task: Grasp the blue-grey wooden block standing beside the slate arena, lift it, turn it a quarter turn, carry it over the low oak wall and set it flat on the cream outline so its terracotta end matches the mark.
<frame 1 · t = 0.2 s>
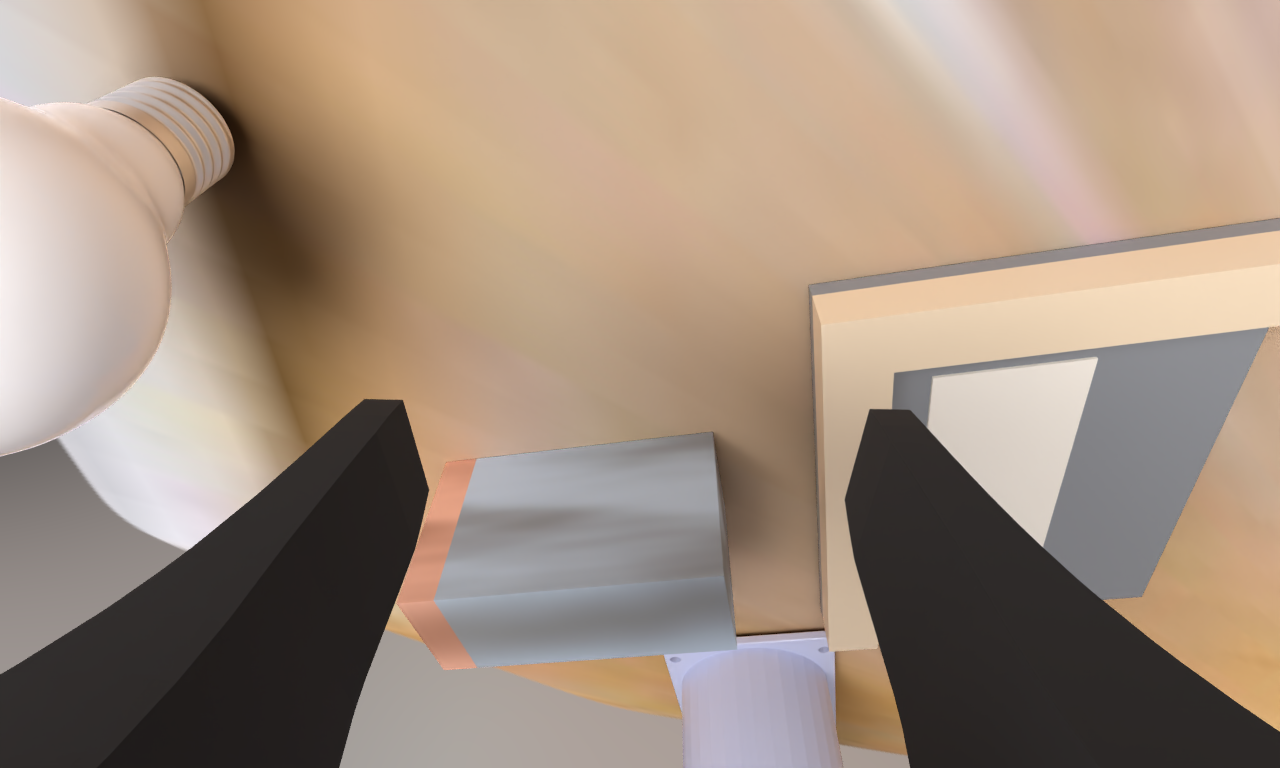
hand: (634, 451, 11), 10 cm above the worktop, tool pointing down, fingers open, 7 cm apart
painted block: (588, 484, 26), on the worktop
lightbulb: (197, 121, 18), on the worktop
arena: (1000, 461, 24), on the worktop
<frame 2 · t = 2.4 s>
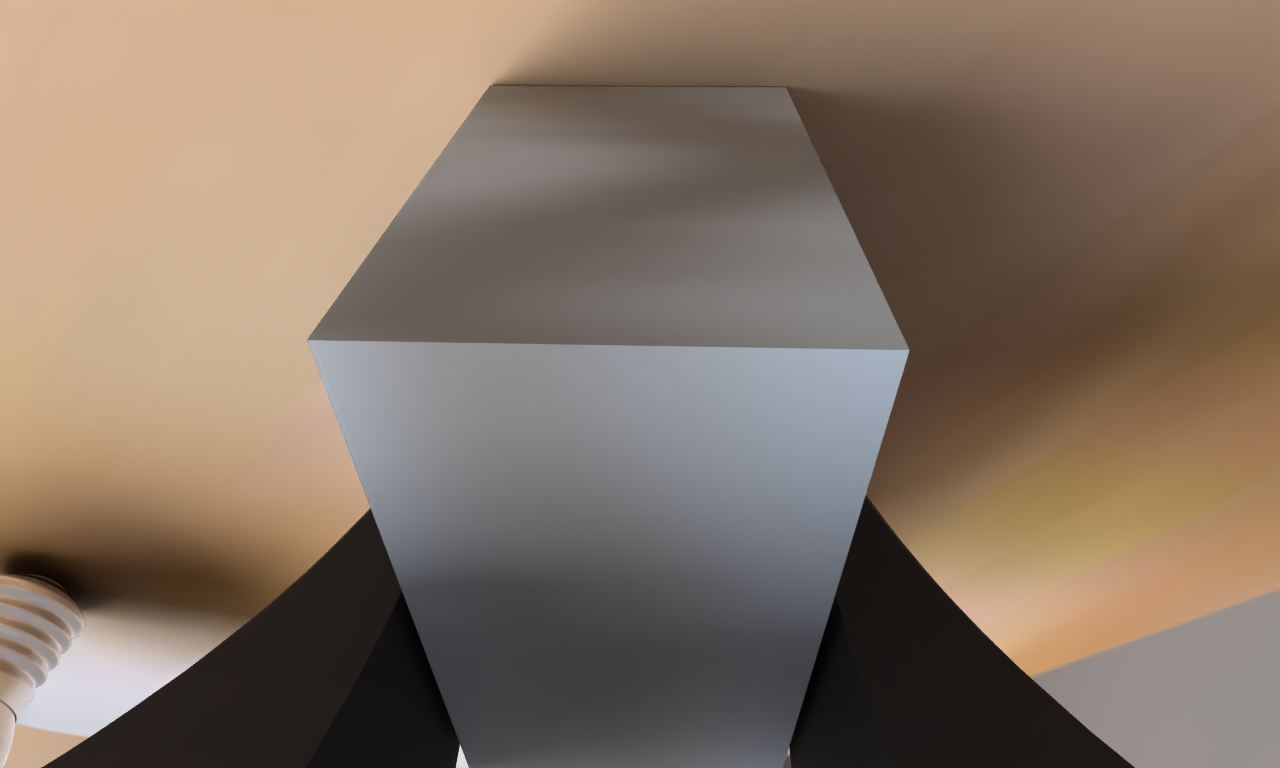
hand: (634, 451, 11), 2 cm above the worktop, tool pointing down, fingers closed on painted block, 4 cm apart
painted block: (638, 377, 12), on the worktop, touching gripper
lightbulb: (50, 577, 17), on the worktop
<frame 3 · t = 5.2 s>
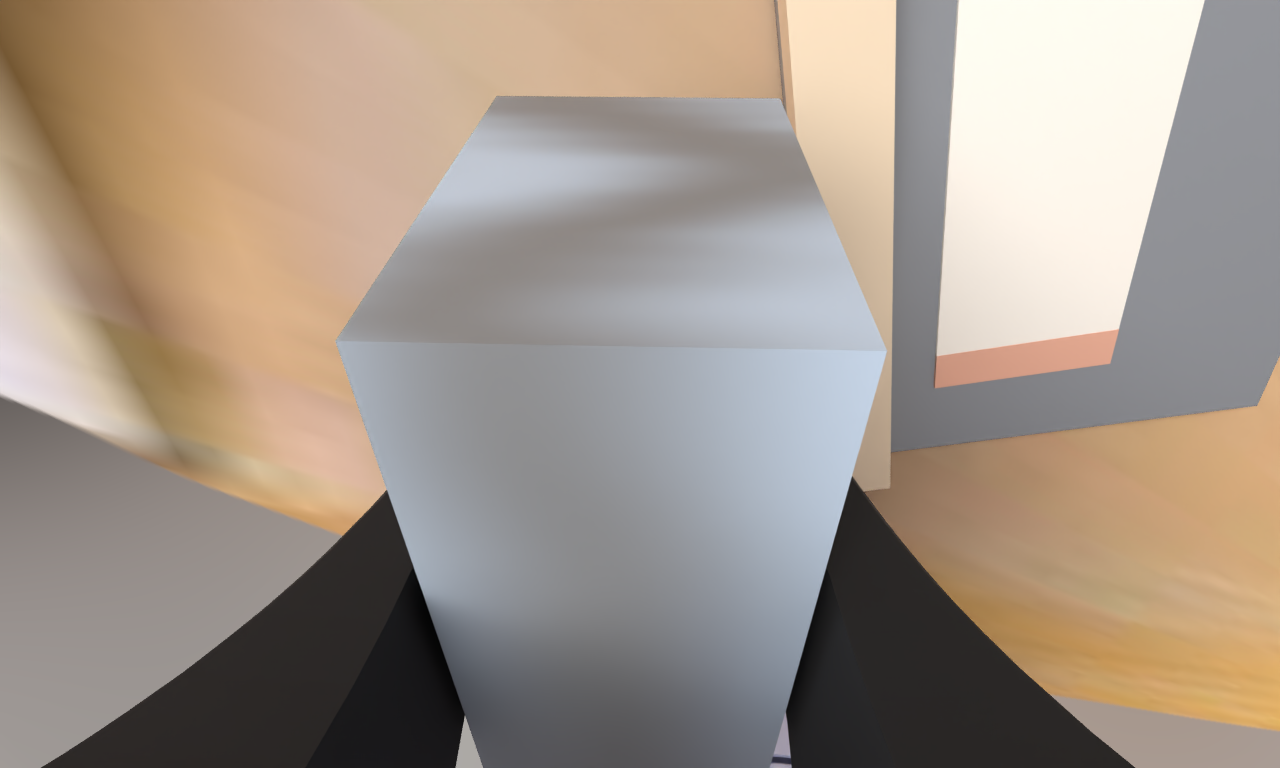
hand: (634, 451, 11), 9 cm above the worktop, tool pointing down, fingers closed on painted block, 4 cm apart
painted block: (638, 375, 13), point 7 cm above the worktop, touching gripper
arena: (1060, 170, 17), on the worktop
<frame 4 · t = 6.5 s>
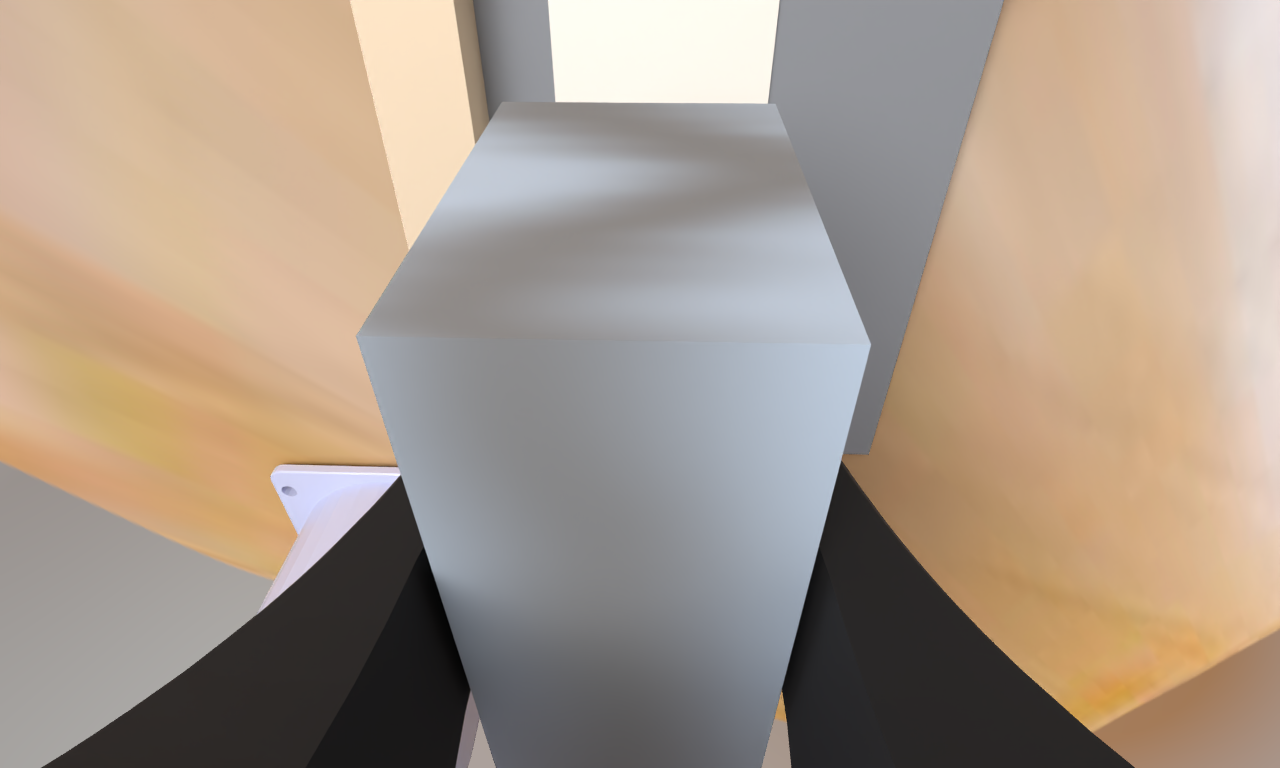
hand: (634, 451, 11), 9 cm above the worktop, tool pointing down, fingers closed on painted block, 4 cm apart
painted block: (639, 372, 13), point 6 cm above the worktop, touching gripper
arena: (678, 196, 17), on the worktop
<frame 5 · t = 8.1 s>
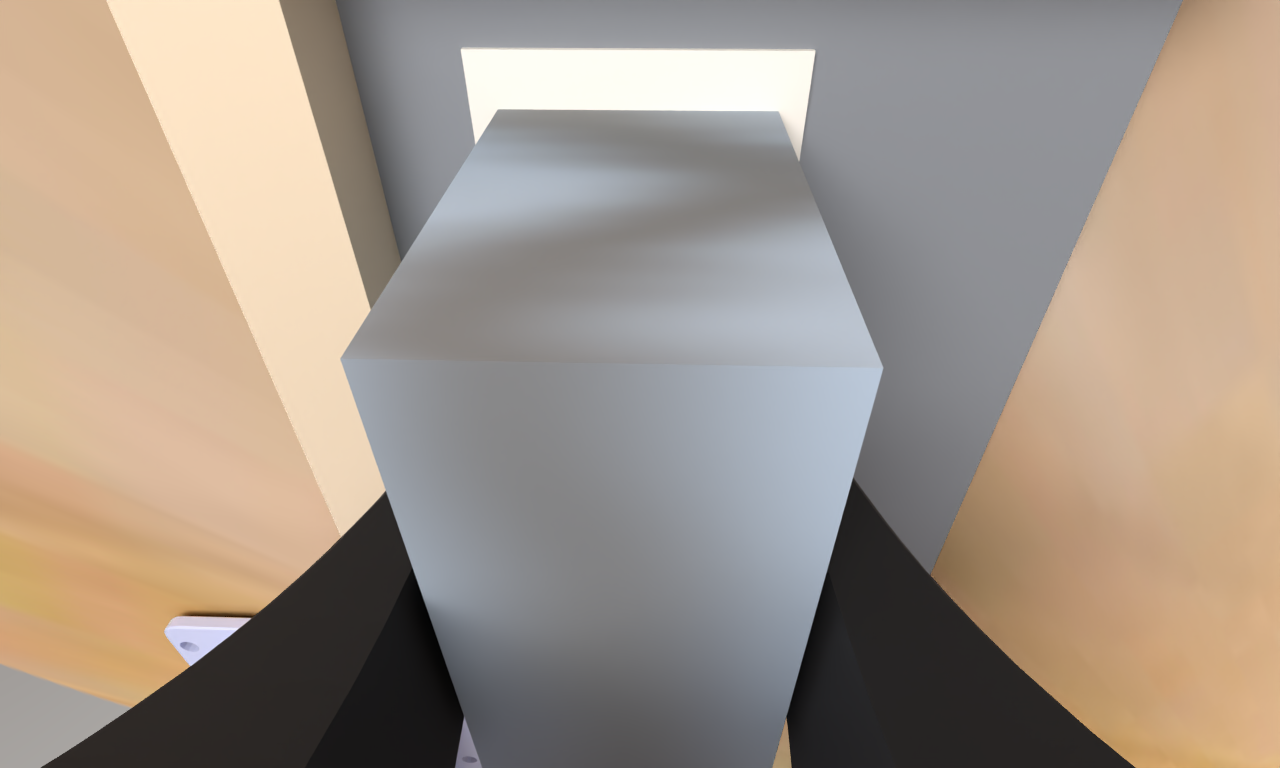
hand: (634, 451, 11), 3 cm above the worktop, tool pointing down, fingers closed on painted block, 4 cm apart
painted block: (638, 384, 13), point 1 cm above the worktop, touching arena, gripper
arena: (666, 324, 13), on the worktop
when the fingers open (3 cm above the worktop, at t = 8.5 s): painted block stays where it is, resting on arena.
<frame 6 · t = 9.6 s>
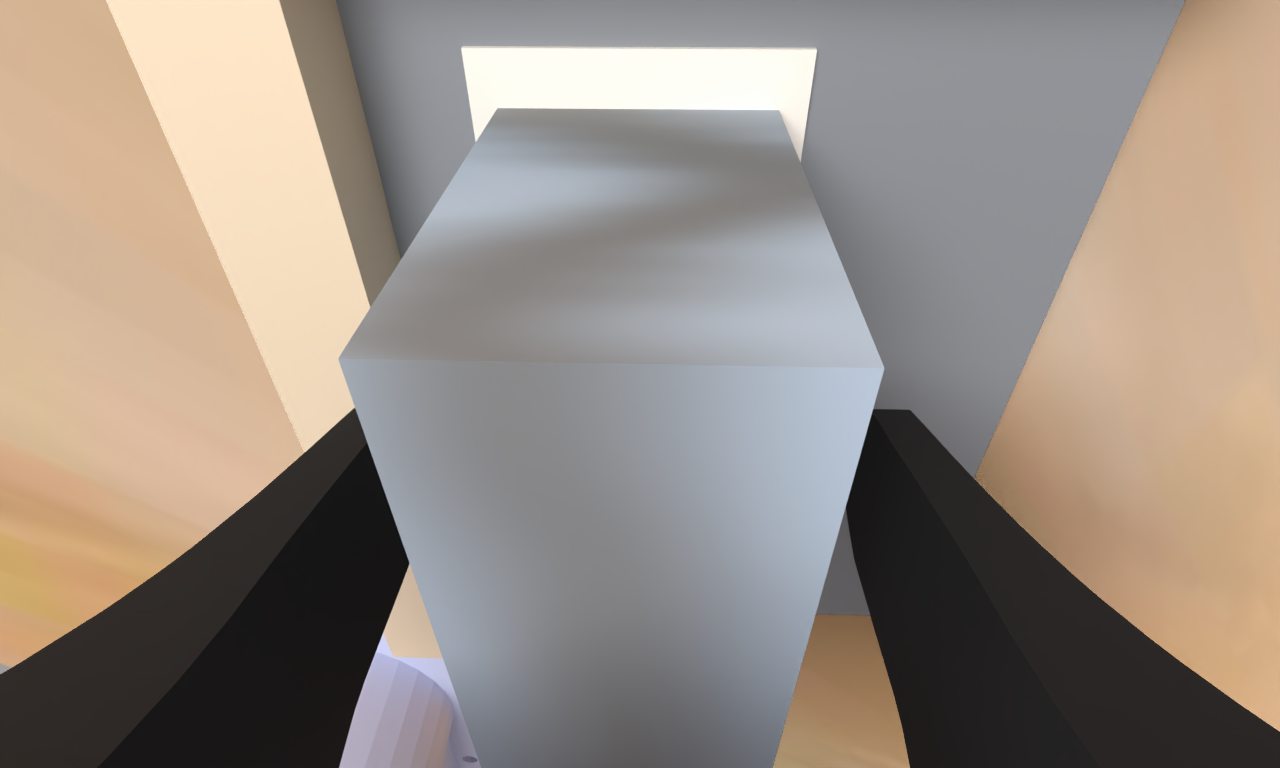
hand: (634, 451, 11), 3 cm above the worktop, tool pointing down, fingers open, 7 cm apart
painted block: (638, 383, 13), point 1 cm above the worktop, touching arena
arena: (667, 323, 13), on the worktop
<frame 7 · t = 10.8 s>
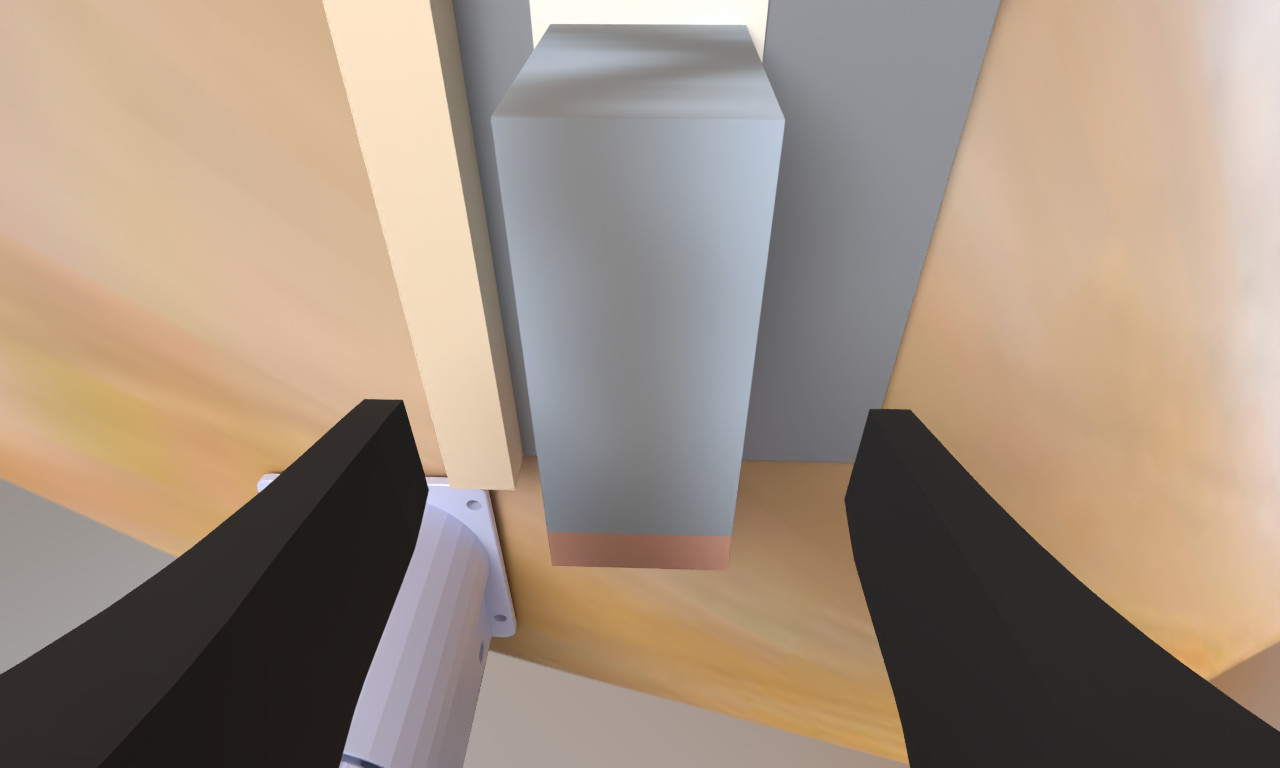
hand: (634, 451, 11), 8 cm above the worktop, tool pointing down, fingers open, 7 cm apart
painted block: (646, 245, 17), point 1 cm above the worktop, touching arena
arena: (668, 200, 17), on the worktop
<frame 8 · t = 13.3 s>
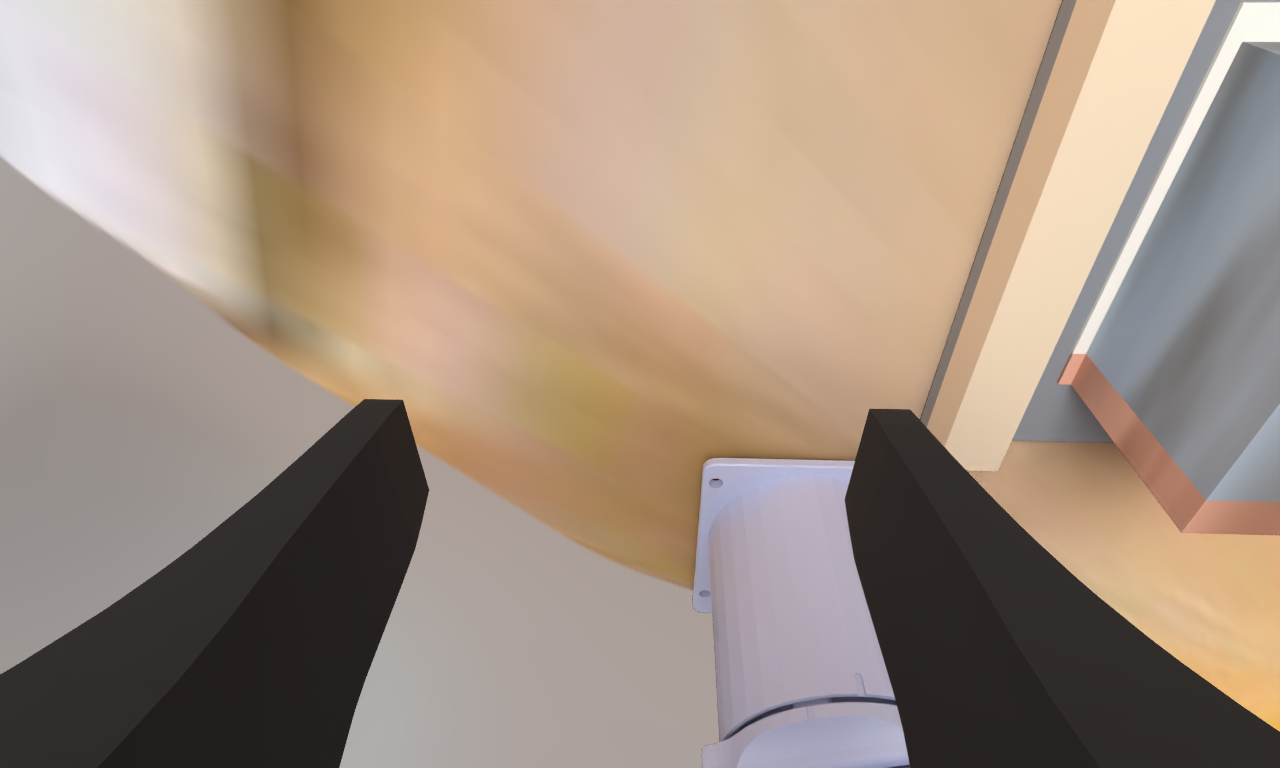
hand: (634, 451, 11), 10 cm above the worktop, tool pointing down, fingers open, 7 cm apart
painted block: (1216, 242, 19), point 1 cm above the worktop, touching arena
arena: (1236, 201, 19), on the worktop
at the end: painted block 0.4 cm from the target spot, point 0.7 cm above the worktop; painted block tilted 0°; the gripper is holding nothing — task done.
